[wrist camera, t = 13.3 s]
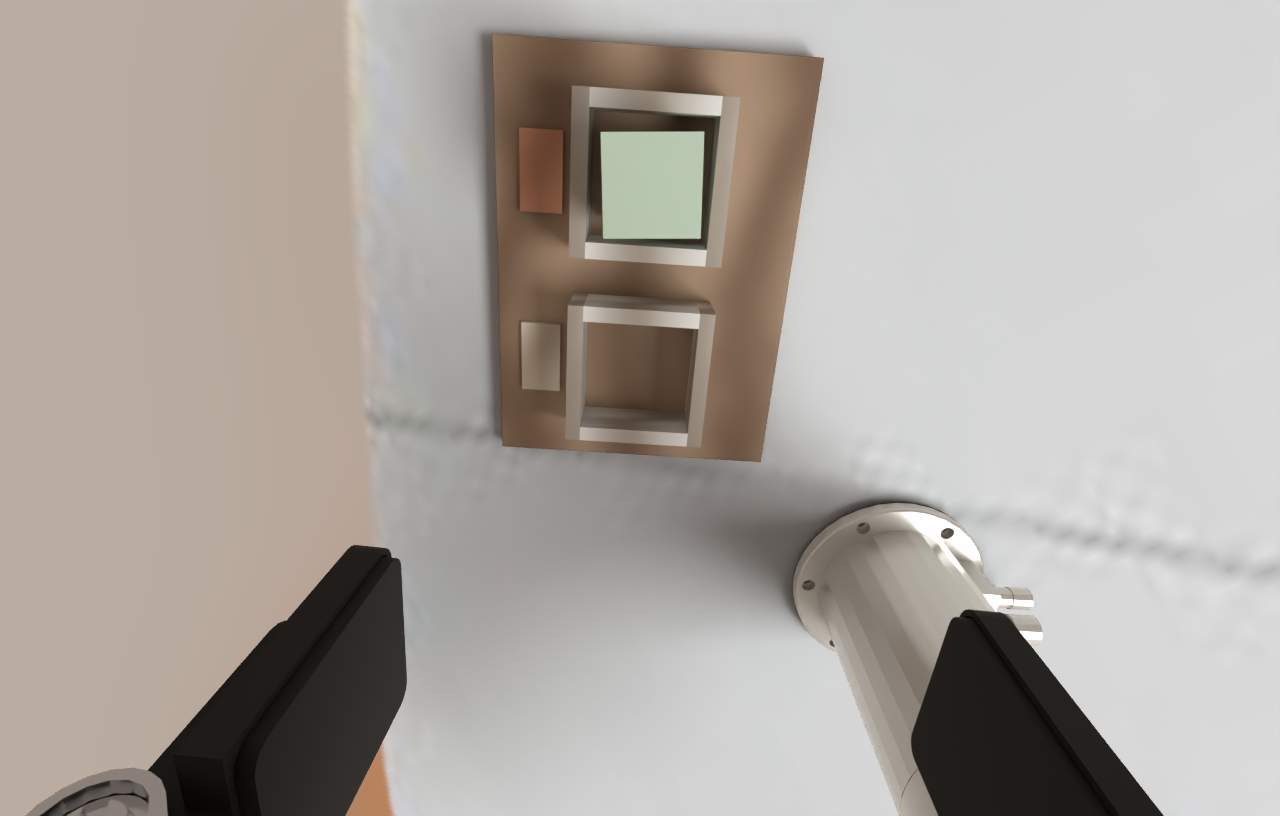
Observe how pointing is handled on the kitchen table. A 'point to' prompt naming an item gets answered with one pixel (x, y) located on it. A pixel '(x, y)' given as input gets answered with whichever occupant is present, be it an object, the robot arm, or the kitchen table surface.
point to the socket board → (644, 246)
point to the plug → (652, 184)
